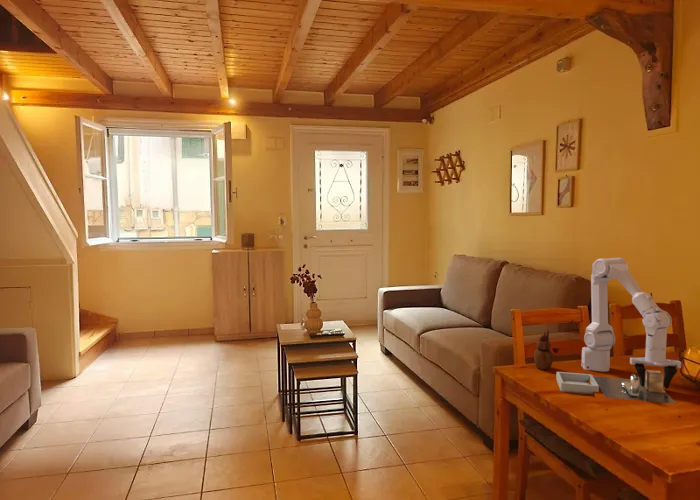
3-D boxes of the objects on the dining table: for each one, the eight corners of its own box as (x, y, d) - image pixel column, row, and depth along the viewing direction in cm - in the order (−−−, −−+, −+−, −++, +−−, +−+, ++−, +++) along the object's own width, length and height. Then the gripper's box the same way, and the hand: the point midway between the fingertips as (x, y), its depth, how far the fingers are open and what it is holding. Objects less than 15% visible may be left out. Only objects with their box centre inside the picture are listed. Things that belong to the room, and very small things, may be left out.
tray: (561, 391, 161) (561, 383, 161) (556, 379, 172) (556, 371, 172) (598, 394, 158) (598, 386, 157) (591, 382, 169) (591, 374, 168)
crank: (619, 384, 163) (620, 364, 163) (631, 384, 162) (632, 365, 162) (629, 397, 152) (630, 376, 151) (642, 398, 151) (643, 377, 150)
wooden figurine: (549, 365, 187) (550, 328, 186) (554, 370, 181) (555, 332, 180) (532, 365, 188) (532, 328, 186) (536, 370, 182) (537, 332, 181)
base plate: (605, 400, 153) (605, 396, 153) (592, 378, 172) (592, 375, 172) (676, 406, 148) (676, 403, 148) (654, 383, 167) (654, 380, 167)
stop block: (649, 391, 158) (649, 373, 157) (645, 387, 161) (645, 370, 161) (662, 392, 156) (663, 375, 156) (658, 388, 160) (659, 370, 160)
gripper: (634, 349, 156) (633, 388, 157) (685, 352, 152) (683, 393, 153) (628, 343, 163) (627, 381, 164) (677, 346, 159) (675, 385, 160)
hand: (654, 386), depth 159 cm, fingers open, 6 cm apart
